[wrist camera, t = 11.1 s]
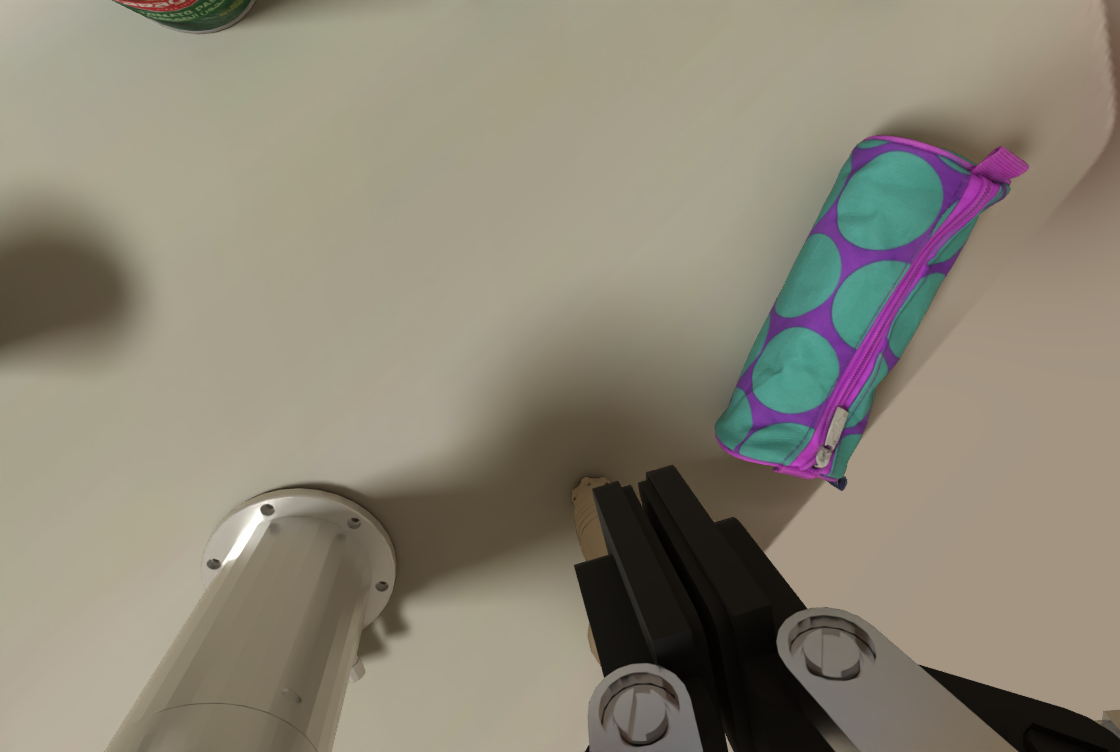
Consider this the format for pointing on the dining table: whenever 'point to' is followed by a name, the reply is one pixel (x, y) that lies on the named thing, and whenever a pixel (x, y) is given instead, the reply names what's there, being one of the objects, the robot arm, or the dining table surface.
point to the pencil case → (856, 301)
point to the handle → (589, 529)
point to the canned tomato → (191, 13)
